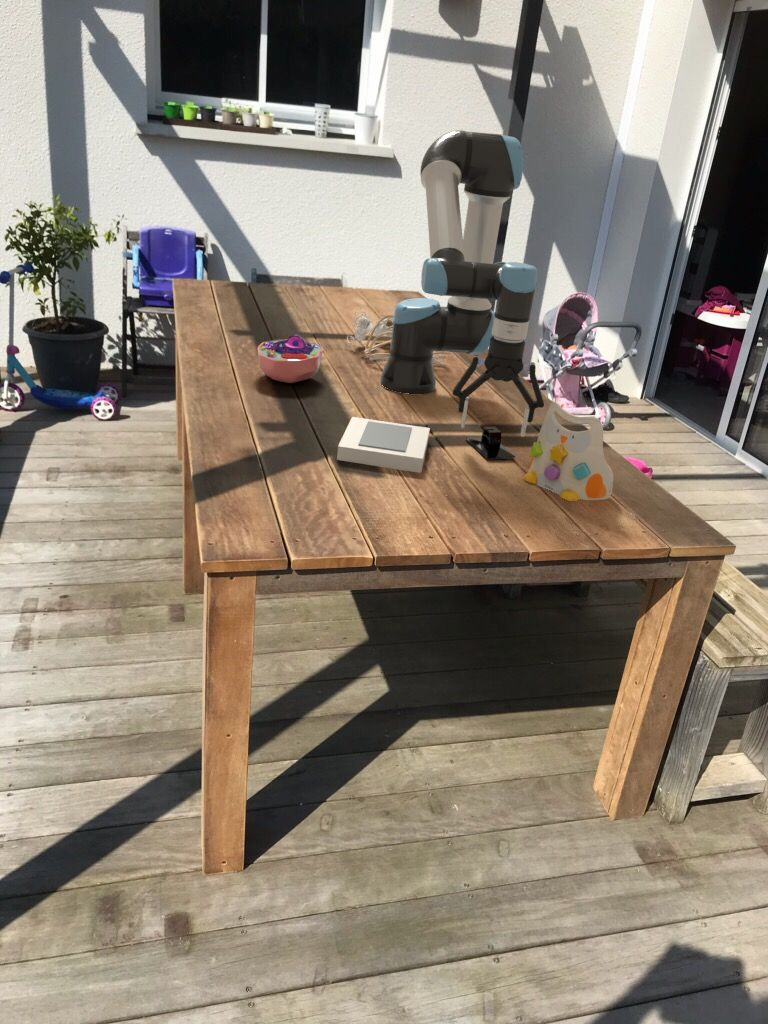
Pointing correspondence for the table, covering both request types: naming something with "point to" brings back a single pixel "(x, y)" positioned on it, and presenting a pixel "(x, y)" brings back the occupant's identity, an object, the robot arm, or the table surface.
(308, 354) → the cell model
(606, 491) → the shape sorter
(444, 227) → the robot arm
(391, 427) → the plinth
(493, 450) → the black stand
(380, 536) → the table surface
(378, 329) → the plant holder
